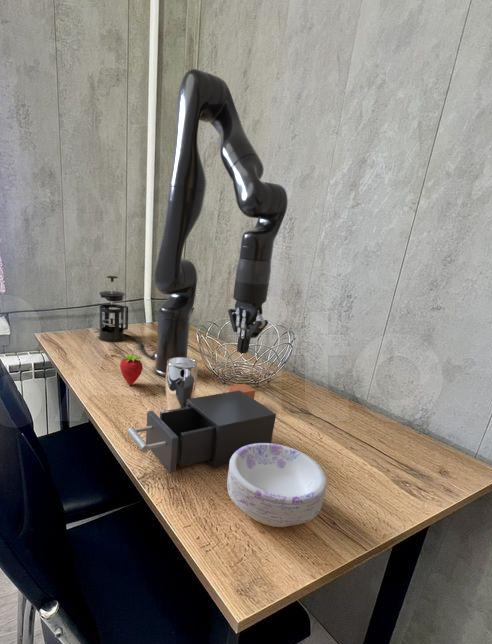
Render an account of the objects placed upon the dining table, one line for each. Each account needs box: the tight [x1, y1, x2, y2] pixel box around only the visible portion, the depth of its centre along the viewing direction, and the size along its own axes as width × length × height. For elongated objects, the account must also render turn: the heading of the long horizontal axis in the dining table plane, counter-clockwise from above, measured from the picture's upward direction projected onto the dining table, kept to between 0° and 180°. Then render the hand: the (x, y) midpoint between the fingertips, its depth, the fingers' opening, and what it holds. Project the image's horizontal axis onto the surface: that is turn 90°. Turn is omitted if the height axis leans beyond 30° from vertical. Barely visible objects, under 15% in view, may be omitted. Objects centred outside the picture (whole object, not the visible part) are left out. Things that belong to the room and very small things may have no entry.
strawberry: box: [119, 351, 144, 386], centre depth 109 cm, size 6×8×10 cm
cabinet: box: [186, 390, 277, 469], centre depth 82 cm, size 14×12×9 cm
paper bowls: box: [226, 442, 328, 528], centre depth 65 cm, size 15×15×8 cm
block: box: [228, 383, 256, 400], centre depth 102 cm, size 5×5×5 cm
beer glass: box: [164, 357, 198, 411], centre depth 89 cm, size 7×7×15 cm
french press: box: [98, 275, 129, 343], centre depth 146 cm, size 12×9×23 cm
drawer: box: [126, 406, 216, 474], centre depth 77 cm, size 17×11×7 cm, turn 117°
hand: (242, 352), depth 96 cm, fingers closed
